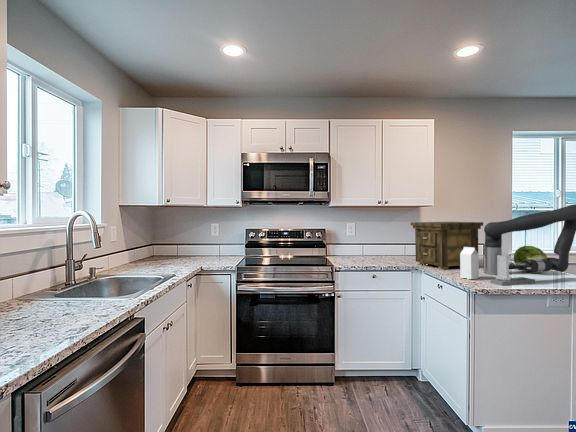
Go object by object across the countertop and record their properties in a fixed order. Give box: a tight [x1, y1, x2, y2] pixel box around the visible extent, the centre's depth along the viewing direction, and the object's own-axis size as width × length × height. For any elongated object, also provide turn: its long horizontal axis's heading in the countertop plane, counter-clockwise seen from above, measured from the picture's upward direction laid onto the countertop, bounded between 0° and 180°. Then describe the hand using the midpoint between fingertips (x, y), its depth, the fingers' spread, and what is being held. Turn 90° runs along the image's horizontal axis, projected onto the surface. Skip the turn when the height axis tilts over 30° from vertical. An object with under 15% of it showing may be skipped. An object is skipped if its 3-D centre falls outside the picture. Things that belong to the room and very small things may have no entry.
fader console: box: [489, 276, 536, 287], centre depth 191 cm, size 22×8×2 cm, turn 103°
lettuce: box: [513, 245, 548, 274], centre depth 222 cm, size 17×23×17 cm
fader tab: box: [495, 255, 512, 281], centre depth 189 cm, size 4×6×13 cm, turn 13°
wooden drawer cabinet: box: [410, 221, 484, 270], centre depth 254 cm, size 35×35×33 cm
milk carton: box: [459, 247, 480, 280], centre depth 205 cm, size 7×7×19 cm
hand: (507, 267), depth 190 cm, fingers closed
